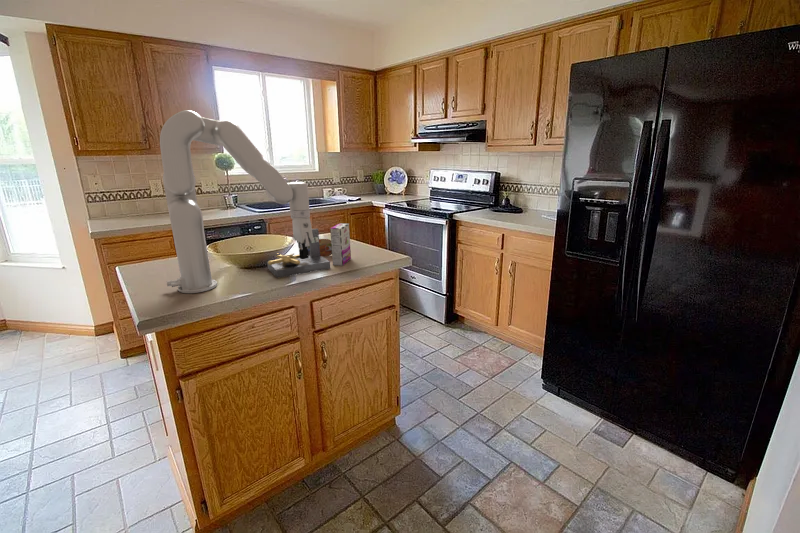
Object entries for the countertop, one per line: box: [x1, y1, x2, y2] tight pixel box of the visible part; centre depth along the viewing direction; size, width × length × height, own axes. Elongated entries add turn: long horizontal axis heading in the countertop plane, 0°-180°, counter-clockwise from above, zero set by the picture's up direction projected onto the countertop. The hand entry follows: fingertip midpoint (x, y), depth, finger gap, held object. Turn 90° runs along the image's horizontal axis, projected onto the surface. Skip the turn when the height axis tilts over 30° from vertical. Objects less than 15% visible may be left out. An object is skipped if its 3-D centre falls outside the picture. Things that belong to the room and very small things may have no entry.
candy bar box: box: [329, 223, 352, 267], centre depth 164 cm, size 11×5×16 cm, turn 168°
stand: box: [266, 228, 331, 279], centre depth 155 cm, size 22×14×15 cm, turn 123°
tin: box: [308, 238, 332, 258], centre depth 176 cm, size 15×3×8 cm, turn 77°
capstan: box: [267, 253, 300, 266], centre depth 151 cm, size 17×17×4 cm
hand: (304, 258), depth 155 cm, fingers closed
